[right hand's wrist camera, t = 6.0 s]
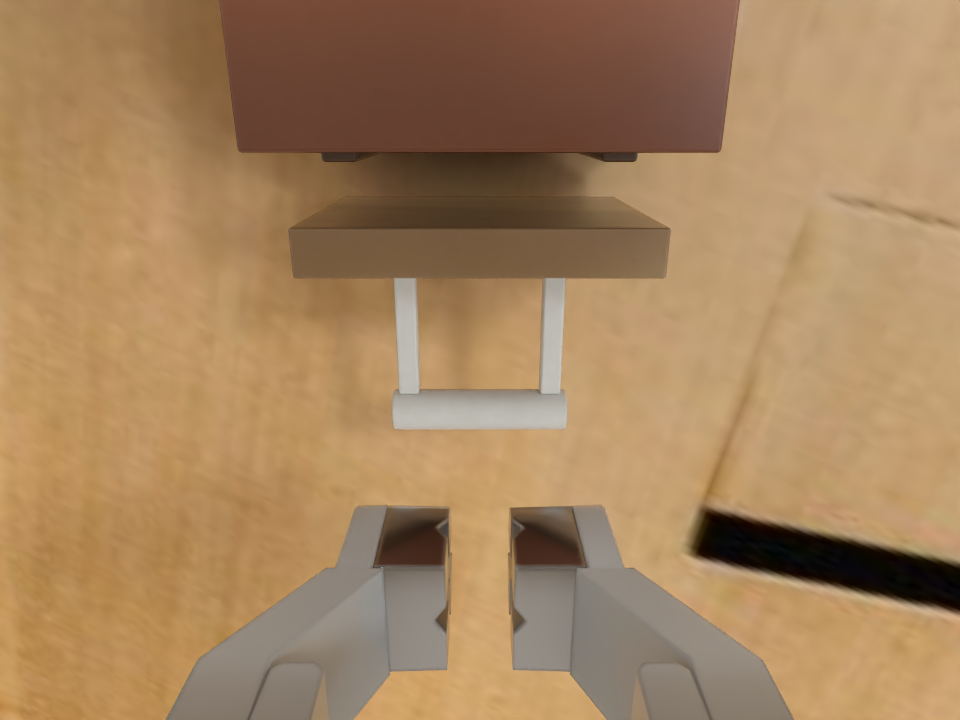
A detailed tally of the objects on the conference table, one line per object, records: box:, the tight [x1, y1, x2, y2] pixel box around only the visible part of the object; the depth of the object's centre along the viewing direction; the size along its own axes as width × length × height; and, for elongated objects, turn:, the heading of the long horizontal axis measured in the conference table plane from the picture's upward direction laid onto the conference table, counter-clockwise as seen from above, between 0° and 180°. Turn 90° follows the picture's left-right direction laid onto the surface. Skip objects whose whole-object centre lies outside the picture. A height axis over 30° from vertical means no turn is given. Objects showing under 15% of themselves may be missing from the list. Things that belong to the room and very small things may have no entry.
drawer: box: [289, 153, 671, 429], centre depth 16 cm, size 22×9×7 cm, turn 0°
